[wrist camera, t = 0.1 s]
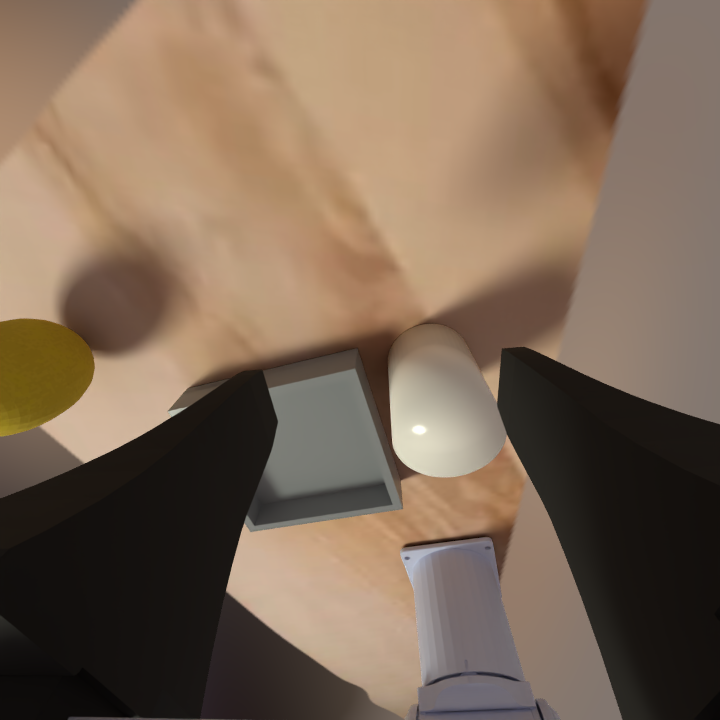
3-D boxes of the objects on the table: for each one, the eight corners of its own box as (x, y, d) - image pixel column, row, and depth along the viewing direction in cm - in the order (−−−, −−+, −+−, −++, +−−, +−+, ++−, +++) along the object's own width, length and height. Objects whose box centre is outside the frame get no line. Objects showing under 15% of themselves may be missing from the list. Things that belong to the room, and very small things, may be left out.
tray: (400, 481, 26) (402, 509, 24) (260, 504, 28) (250, 531, 26) (357, 347, 21) (355, 368, 19) (187, 388, 23) (167, 411, 21)
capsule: (473, 384, 22) (511, 467, 16) (397, 400, 23) (405, 484, 17) (462, 314, 20) (501, 379, 13) (378, 334, 20) (379, 404, 14)
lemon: (89, 290, 20) (-66, 355, 13) (139, 370, 22) (32, 460, 15) (12, 309, 21) (-174, 380, 14) (69, 384, 23) (-63, 476, 16)
